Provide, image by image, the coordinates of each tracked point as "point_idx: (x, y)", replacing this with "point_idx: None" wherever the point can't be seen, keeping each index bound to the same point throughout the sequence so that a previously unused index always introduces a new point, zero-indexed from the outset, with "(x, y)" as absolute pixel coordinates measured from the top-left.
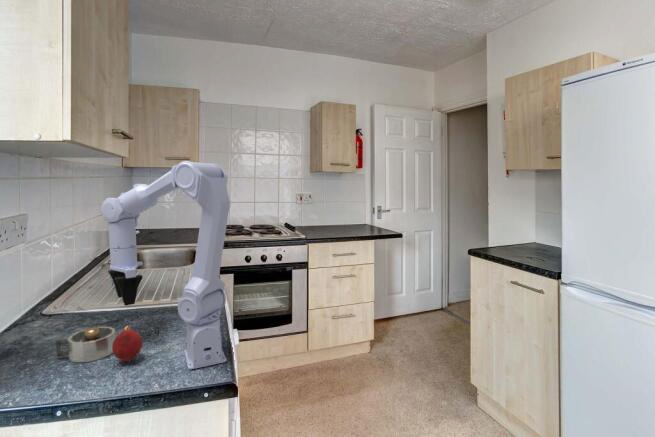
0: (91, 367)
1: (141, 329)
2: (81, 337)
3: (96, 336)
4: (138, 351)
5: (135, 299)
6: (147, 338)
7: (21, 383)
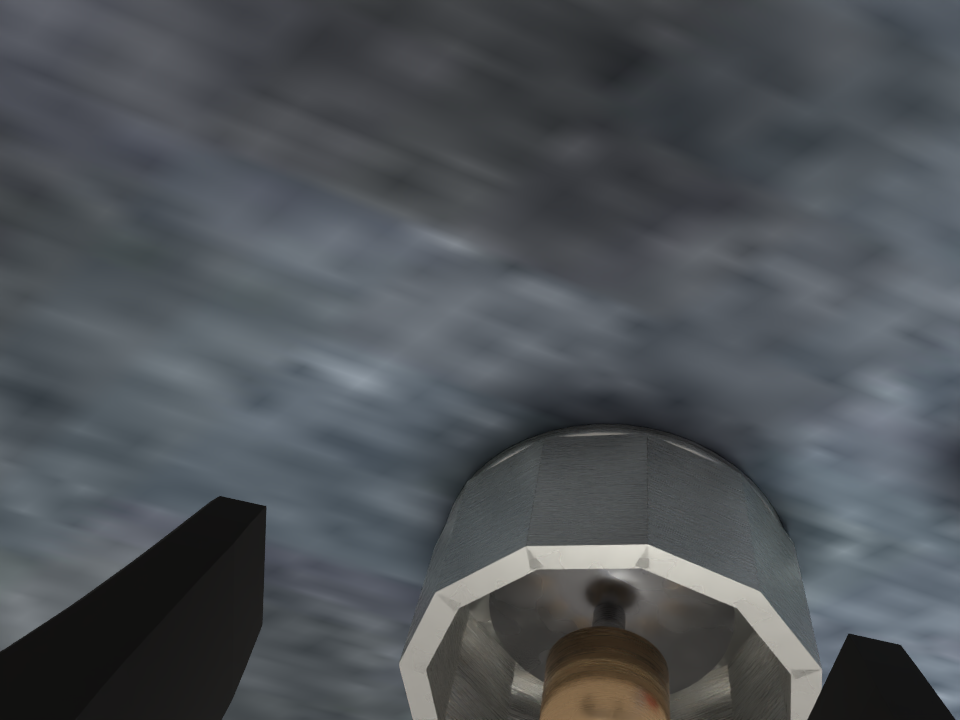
0: None
1: (364, 52)
2: (450, 677)
3: (666, 688)
4: None
5: (940, 701)
6: (709, 125)
7: None
